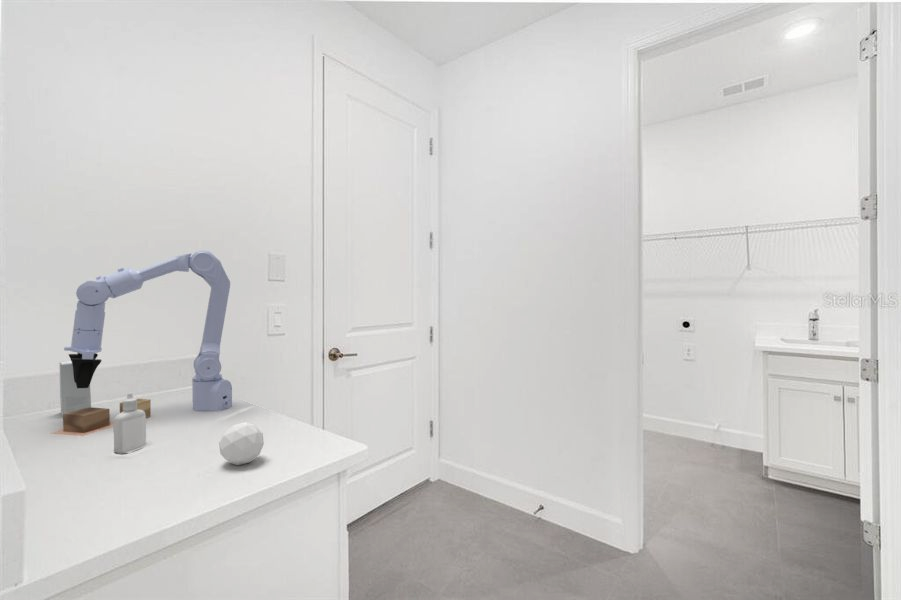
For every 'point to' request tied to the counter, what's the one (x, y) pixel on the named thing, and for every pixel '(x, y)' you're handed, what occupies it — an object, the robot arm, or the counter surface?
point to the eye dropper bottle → (129, 427)
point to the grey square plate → (82, 433)
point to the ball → (241, 443)
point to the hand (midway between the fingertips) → (81, 385)
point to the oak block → (141, 406)
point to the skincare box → (72, 391)
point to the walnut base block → (86, 420)
